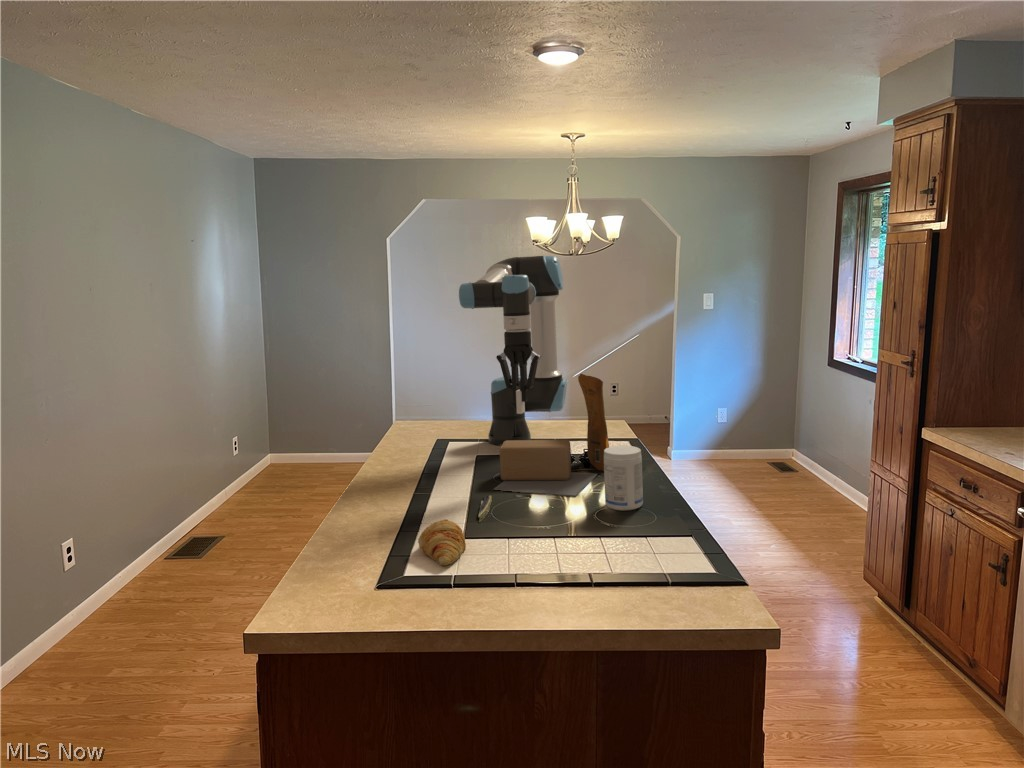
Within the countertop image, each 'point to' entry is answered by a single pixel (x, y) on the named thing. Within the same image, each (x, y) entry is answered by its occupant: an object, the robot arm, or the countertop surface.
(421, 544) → the croissant
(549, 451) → the wooden block
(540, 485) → the mat
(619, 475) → the supplement tub
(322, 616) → the countertop surface
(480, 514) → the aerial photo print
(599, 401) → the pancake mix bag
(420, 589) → the countertop surface
